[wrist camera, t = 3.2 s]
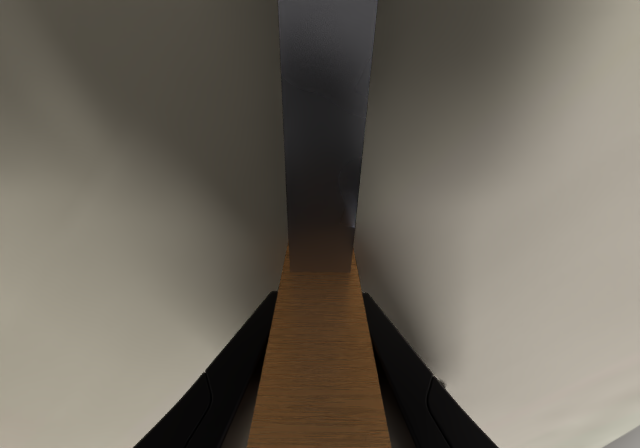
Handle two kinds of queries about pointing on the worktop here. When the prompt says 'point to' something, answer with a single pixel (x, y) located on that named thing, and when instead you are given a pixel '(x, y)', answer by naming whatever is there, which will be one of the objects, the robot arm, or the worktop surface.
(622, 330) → the worktop surface
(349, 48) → the hook tool
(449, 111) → the worktop surface
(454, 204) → the worktop surface
